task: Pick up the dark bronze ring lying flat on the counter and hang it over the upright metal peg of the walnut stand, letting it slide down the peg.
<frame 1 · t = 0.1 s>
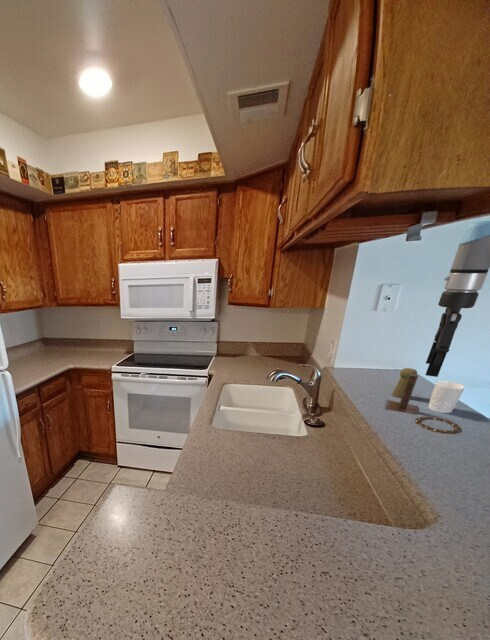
hand: (431, 369, 96), 20 cm above the worktop, tool pointing down, fingers open, 13 cm apart
cork: (400, 396, 130), on the worktop
stand: (401, 411, 118), on the worktop
white cup: (438, 411, 117), on the worktop
ring: (437, 426, 105), point 1 cm above the worktop
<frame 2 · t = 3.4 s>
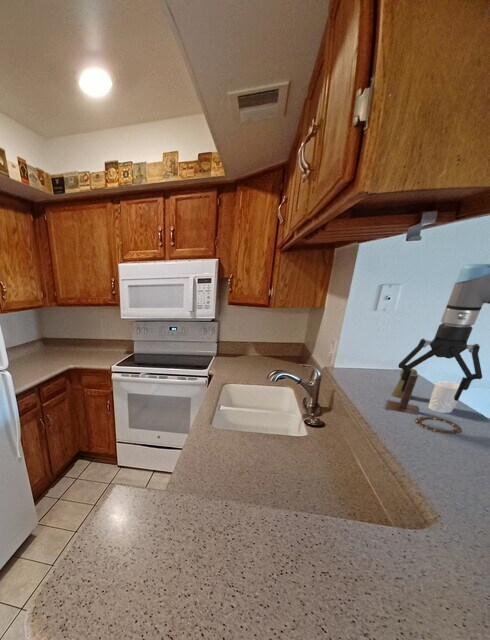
hand: (428, 394, 103), 11 cm above the worktop, tool pointing down, fingers open, 13 cm apart
nothing on the worktop moved.
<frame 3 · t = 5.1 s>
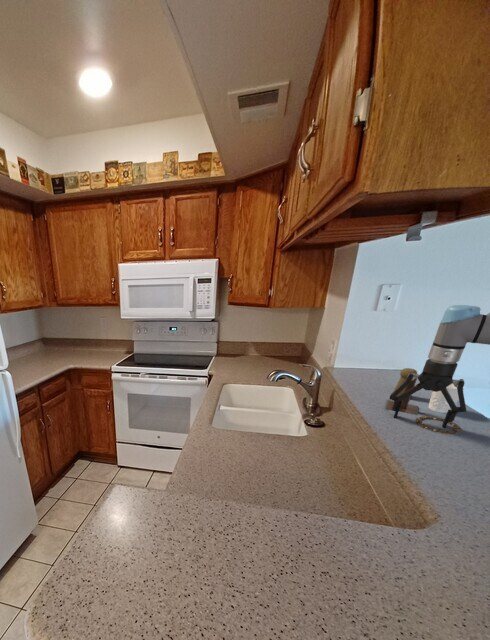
hand: (417, 424, 108), 0 cm above the worktop, tool pointing down, fingers open, 12 cm apart
nothing on the worktop moved.
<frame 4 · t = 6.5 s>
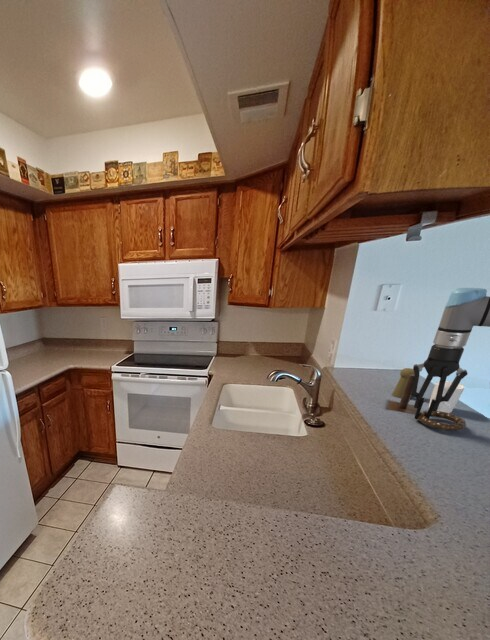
hand: (421, 418, 107), 3 cm above the worktop, tool pointing down, fingers closed on ring, 2 cm apart
ring: (440, 420, 104), point 3 cm above the worktop, touching gripper
everything else where it was.
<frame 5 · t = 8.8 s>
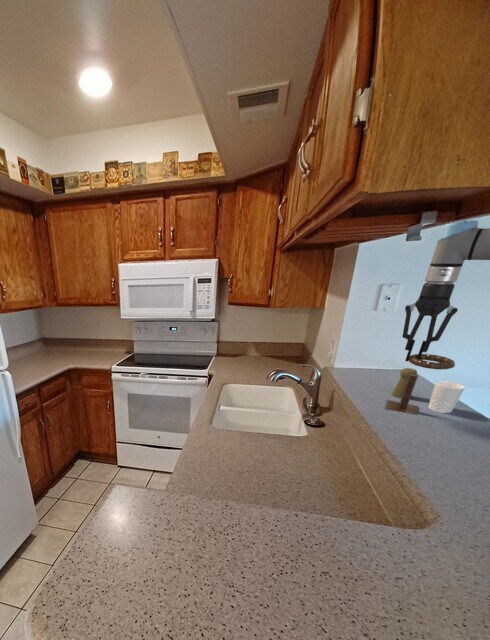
hand: (412, 360, 108), 19 cm above the worktop, tool pointing down, fingers closed on ring, 2 cm apart
ring: (430, 361, 105), point 19 cm above the worktop, touching gripper
everything else where it was.
when the fingers open (11 cm above the worktop, at t = 11.4 s): ring drops 8 cm, resting on stand.
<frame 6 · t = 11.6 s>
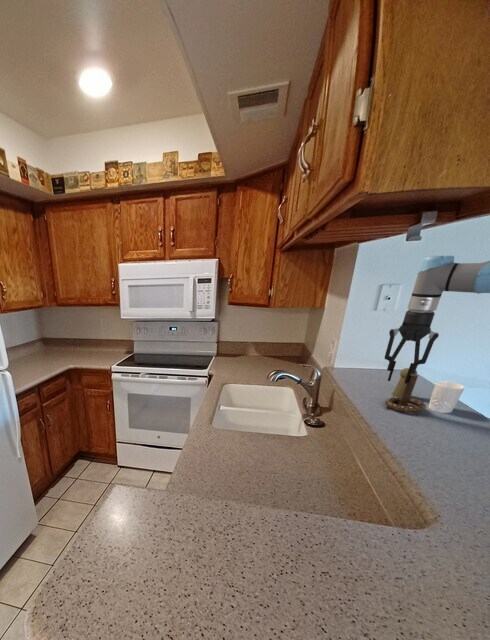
hand: (397, 381, 115), 11 cm above the worktop, tool pointing down, fingers open, 4 cm apart
ring: (405, 404, 116), point 3 cm above the worktop, touching stand
everything else where it was.
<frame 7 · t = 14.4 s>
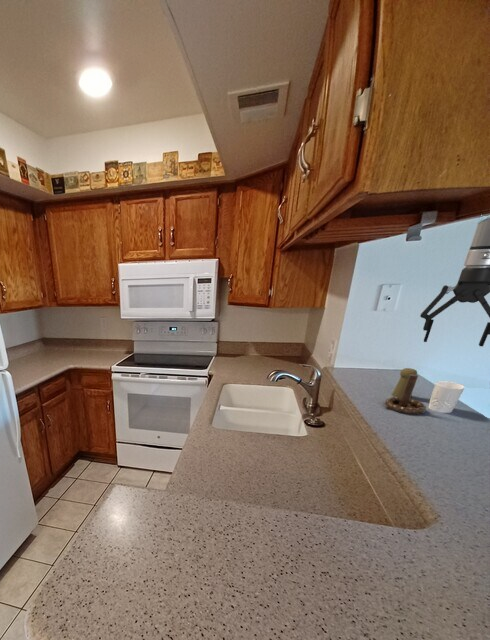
hand: (451, 343, 102), 25 cm above the worktop, tool pointing down, fingers open, 13 cm apart
nothing on the worktop moved.
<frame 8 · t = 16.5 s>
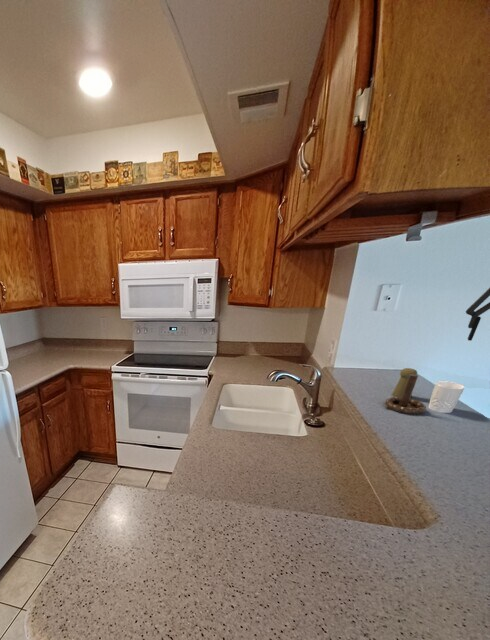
nothing on the worktop moved.
at the end: ring 0.5 cm from the stand (horizontally); ring point 2.5 cm above the worktop; the gripper is holding nothing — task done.
